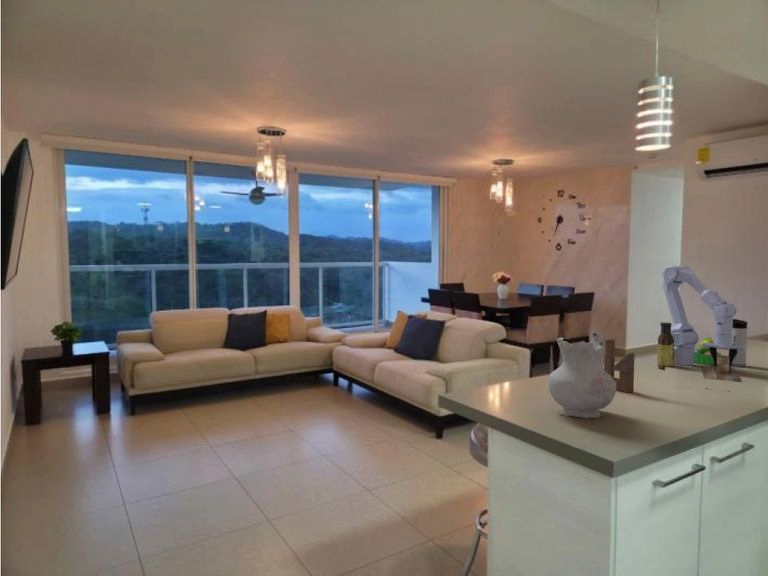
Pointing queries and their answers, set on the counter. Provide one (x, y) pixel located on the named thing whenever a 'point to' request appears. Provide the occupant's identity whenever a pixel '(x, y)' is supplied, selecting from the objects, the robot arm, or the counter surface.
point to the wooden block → (619, 367)
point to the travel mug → (739, 341)
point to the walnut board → (720, 374)
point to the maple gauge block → (722, 364)
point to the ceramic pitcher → (582, 379)
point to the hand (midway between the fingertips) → (722, 367)
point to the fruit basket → (704, 354)
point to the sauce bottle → (665, 347)
